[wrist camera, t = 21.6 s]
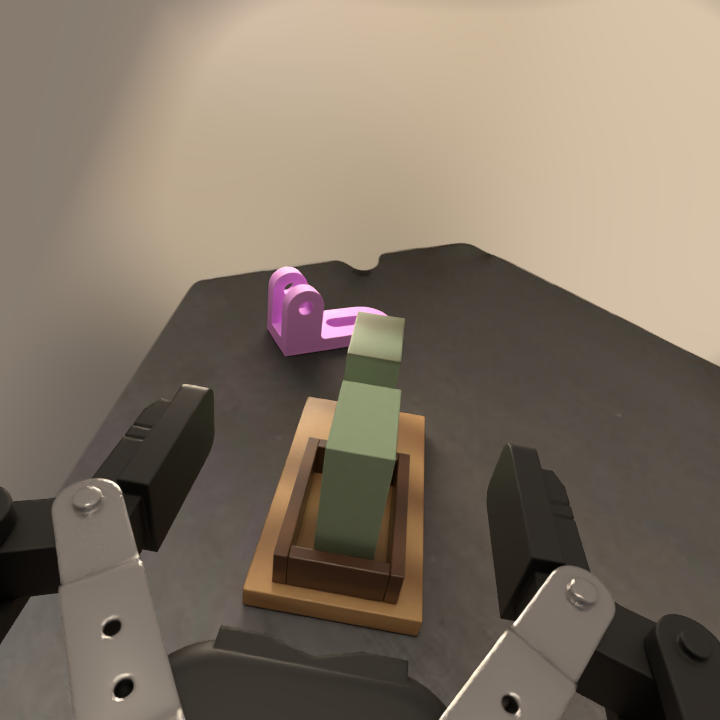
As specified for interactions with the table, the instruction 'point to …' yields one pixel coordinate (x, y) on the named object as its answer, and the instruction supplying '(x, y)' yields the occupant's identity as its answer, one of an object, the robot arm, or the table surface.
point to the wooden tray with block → (301, 502)
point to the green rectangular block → (357, 469)
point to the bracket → (306, 316)
